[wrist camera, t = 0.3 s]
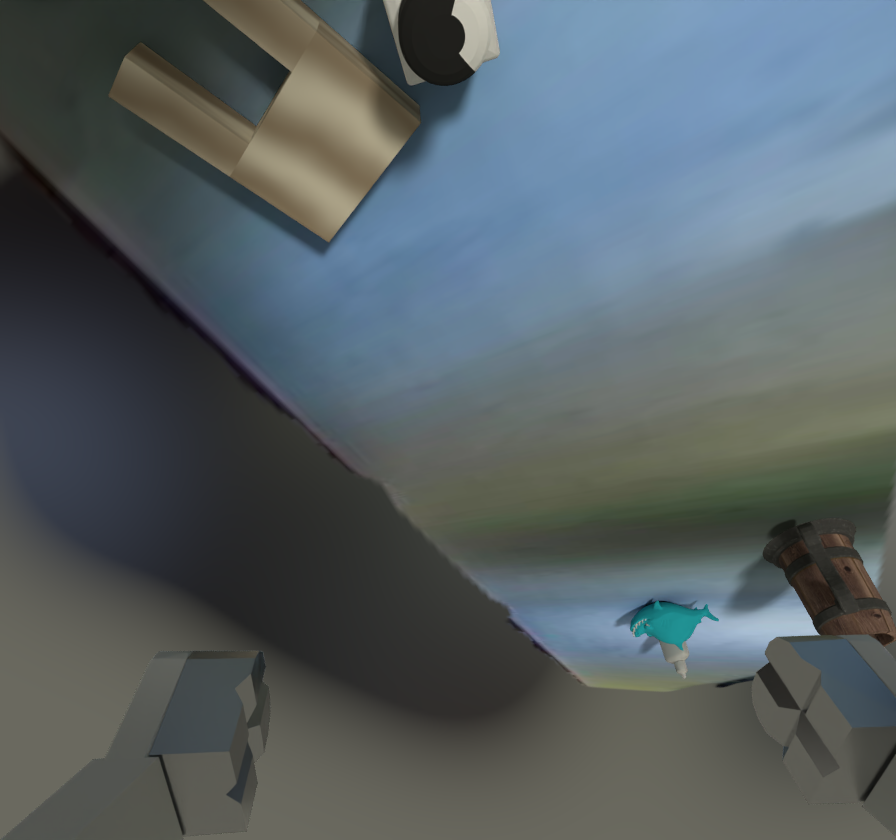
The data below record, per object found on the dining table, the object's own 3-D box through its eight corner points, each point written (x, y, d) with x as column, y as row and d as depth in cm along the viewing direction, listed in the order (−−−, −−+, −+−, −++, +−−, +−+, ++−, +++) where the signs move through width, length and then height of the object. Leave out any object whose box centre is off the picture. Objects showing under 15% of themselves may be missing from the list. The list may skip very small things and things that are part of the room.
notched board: (197, -92, 41) (183, -85, 38) (419, 105, 51) (421, 122, 48) (124, 79, 48) (108, 96, 45) (331, 221, 58) (328, 242, 55)
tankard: (860, 545, 115) (924, 646, 101) (772, 573, 121) (820, 671, 107) (846, 490, 100) (918, 598, 86) (746, 524, 106) (799, 631, 92)
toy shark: (621, 602, 126) (636, 651, 118) (707, 583, 122) (727, 633, 115) (627, 619, 133) (641, 667, 125) (708, 602, 129) (728, 650, 121)
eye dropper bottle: (680, 626, 137) (698, 678, 129) (656, 631, 139) (673, 683, 131) (677, 619, 134) (696, 672, 126) (653, 625, 136) (670, 677, 128)
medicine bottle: (406, 60, 48) (409, 112, 40) (376, -45, 43) (373, -10, 35) (489, 32, 47) (510, 79, 39) (469, -79, 42) (488, -51, 34)
